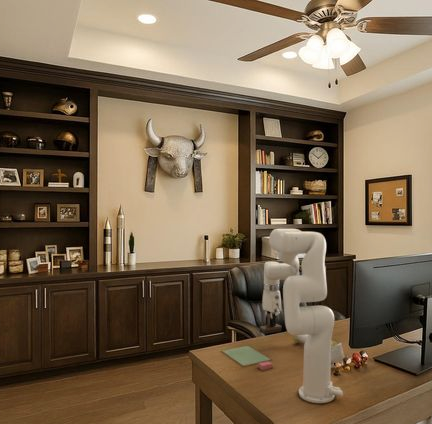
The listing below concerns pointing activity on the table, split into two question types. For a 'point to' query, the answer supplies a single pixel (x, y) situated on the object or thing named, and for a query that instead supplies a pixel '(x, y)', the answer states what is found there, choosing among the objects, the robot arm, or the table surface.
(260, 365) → the eraser
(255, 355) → the desk pad
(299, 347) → the table surface
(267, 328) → the brown t-shaped block
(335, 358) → the arrowhead
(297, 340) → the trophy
